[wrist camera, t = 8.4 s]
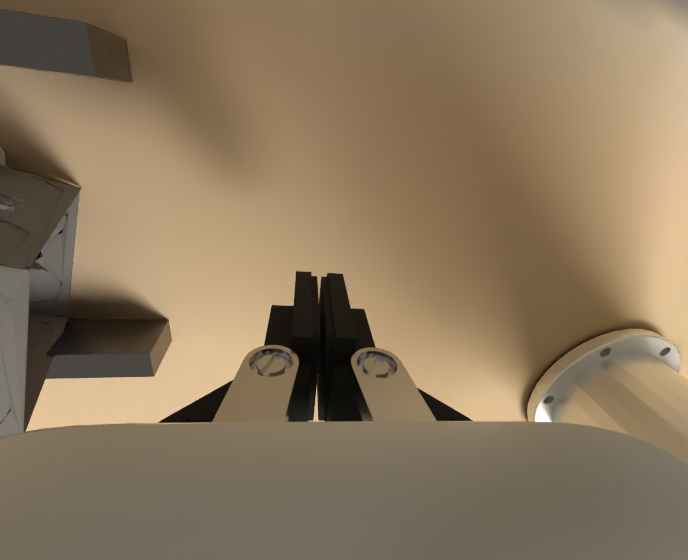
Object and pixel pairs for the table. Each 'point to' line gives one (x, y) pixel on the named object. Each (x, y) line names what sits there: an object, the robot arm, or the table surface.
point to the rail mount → (106, 63)
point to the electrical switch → (31, 285)
